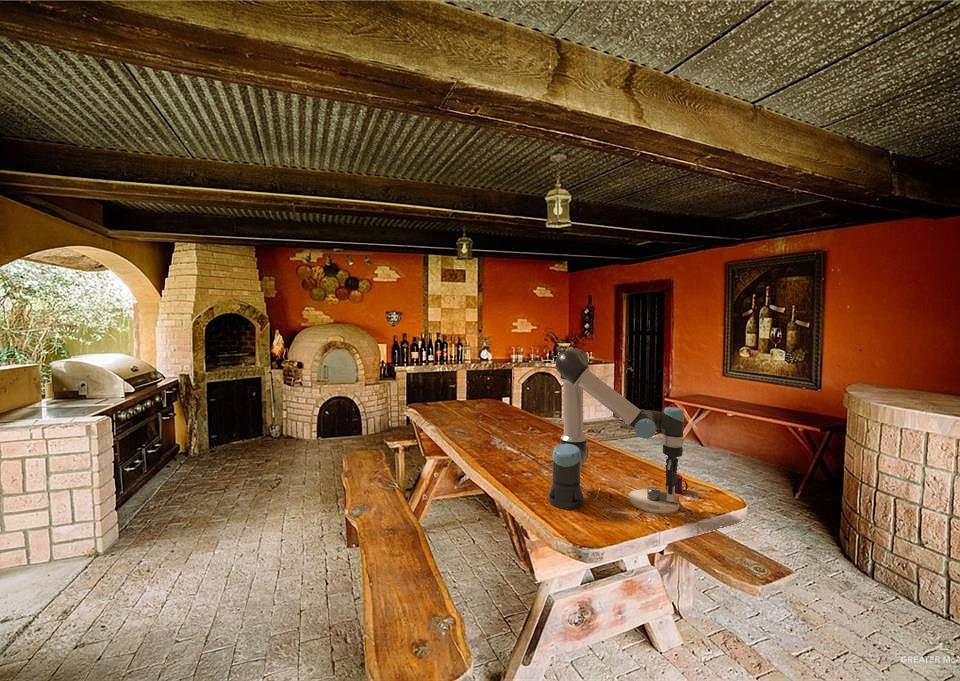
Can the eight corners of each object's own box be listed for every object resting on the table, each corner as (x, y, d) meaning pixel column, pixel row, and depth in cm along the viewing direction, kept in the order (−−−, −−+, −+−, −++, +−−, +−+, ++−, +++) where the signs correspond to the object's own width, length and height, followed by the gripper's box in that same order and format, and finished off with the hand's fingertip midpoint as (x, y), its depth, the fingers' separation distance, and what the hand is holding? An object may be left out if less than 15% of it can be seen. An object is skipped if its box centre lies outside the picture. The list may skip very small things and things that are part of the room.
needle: (646, 499, 178) (646, 489, 178) (647, 495, 183) (648, 485, 182) (678, 505, 172) (679, 495, 172) (679, 501, 177) (679, 491, 176)
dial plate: (627, 508, 174) (627, 504, 174) (629, 489, 192) (629, 486, 192) (680, 517, 166) (681, 513, 166) (677, 496, 185) (677, 493, 185)
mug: (673, 486, 196) (674, 472, 196) (691, 494, 187) (691, 480, 187) (662, 488, 194) (662, 474, 193) (679, 497, 185) (680, 482, 184)
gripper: (679, 450, 166) (677, 508, 167) (685, 443, 176) (683, 498, 177) (659, 447, 170) (657, 503, 171) (666, 440, 181) (664, 493, 182)
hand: (670, 500), depth 174 cm, fingers closed
